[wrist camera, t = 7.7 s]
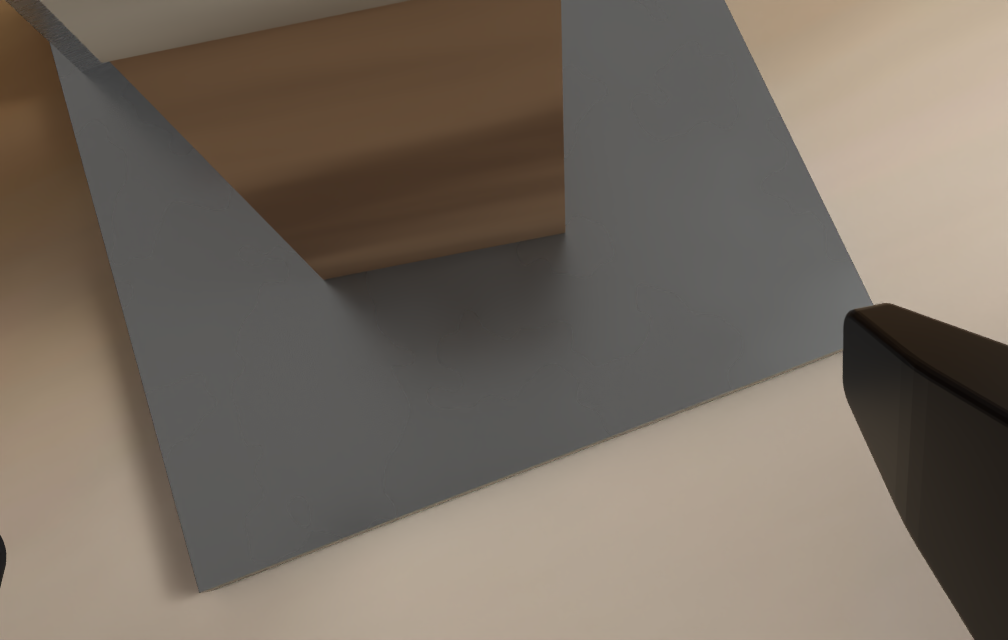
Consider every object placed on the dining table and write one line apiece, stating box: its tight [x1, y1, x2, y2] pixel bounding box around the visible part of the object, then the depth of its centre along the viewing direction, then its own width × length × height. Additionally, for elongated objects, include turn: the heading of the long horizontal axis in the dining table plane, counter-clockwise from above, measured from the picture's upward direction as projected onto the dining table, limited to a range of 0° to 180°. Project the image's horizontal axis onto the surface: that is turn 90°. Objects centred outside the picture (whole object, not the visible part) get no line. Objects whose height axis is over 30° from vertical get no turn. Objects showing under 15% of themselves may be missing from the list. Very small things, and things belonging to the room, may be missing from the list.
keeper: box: [5, 0, 873, 593], centre depth 16 cm, size 14×14×7 cm
